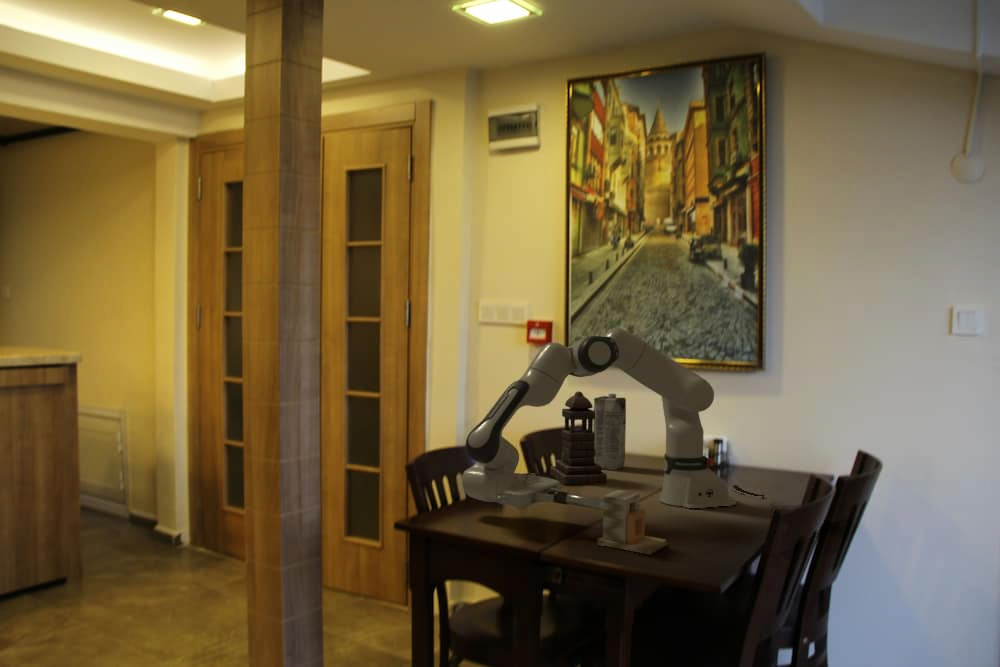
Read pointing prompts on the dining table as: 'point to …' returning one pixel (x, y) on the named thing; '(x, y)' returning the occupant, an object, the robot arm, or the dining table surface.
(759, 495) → the curved wedge
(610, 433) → the battery
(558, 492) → the shaft
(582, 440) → the miniature tower
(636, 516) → the orange upright panel
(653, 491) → the dining table surface
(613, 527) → the bearing frame
